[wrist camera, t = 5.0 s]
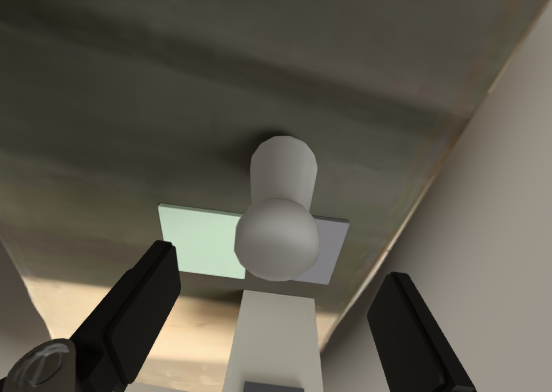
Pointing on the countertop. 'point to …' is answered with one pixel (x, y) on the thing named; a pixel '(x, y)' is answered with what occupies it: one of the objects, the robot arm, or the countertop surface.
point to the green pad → (202, 239)
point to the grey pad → (326, 249)
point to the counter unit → (274, 345)
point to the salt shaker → (279, 212)
